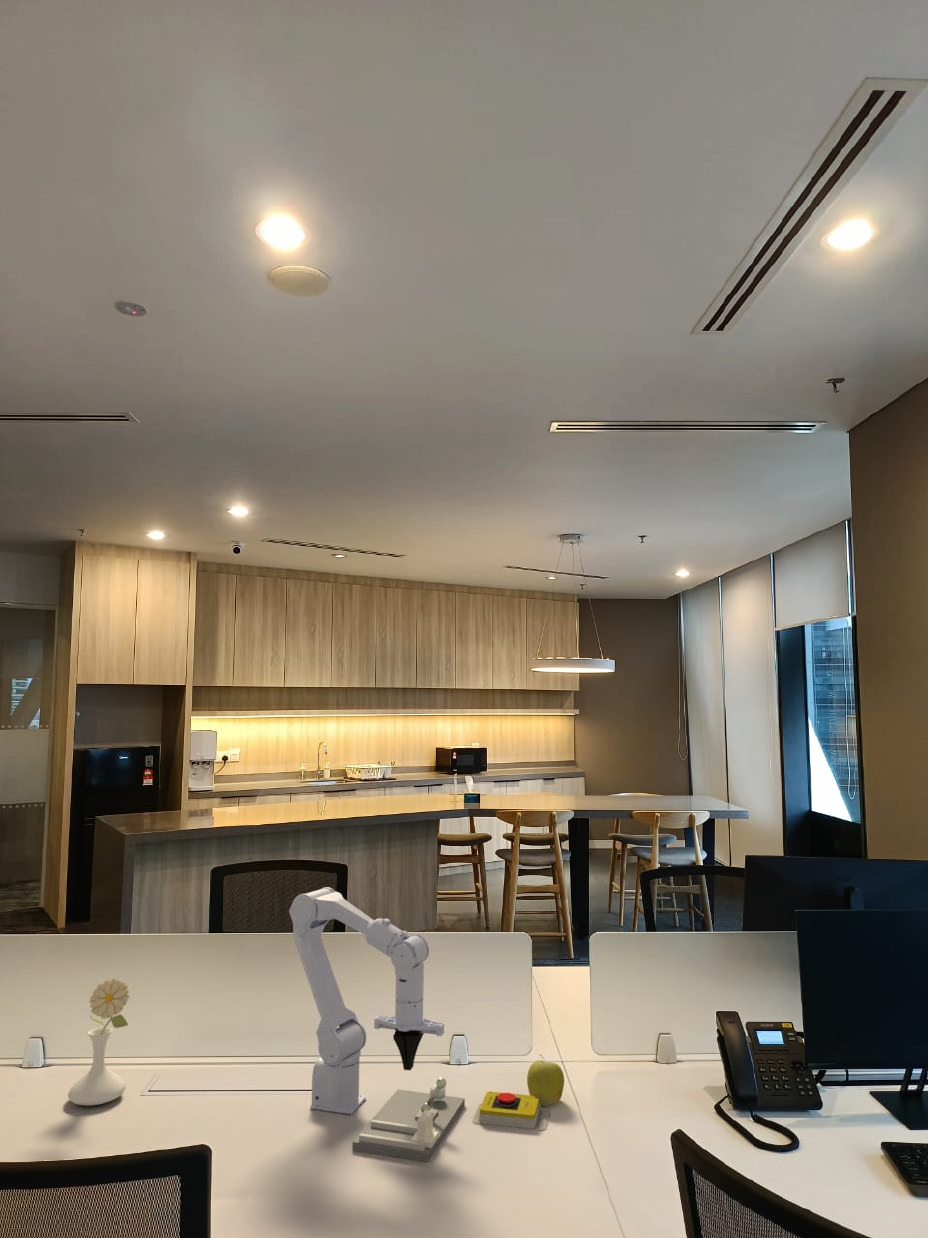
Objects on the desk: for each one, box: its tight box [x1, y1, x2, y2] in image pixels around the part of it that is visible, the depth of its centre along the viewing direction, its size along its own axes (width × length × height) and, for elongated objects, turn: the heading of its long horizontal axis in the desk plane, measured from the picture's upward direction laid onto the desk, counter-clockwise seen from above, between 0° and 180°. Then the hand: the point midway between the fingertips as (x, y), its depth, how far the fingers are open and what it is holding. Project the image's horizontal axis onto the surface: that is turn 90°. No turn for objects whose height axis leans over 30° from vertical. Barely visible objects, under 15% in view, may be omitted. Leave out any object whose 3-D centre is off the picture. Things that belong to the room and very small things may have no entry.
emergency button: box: [472, 1091, 551, 1132], centre depth 176 cm, size 9×4×15 cm
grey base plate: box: [351, 1088, 466, 1163], centre depth 171 cm, size 15×24×2 cm, turn 164°
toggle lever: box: [421, 1077, 447, 1113], centre depth 172 cm, size 2×2×8 cm
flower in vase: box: [67, 978, 130, 1106], centre depth 184 cm, size 13×11×25 cm
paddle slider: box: [411, 1110, 439, 1148], centre depth 162 cm, size 4×4×5 cm
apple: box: [526, 1054, 565, 1107], centre depth 183 cm, size 8×8×10 cm
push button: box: [429, 1084, 446, 1099], centre depth 179 cm, size 3×3×2 cm
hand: (408, 1068), depth 174 cm, fingers closed
